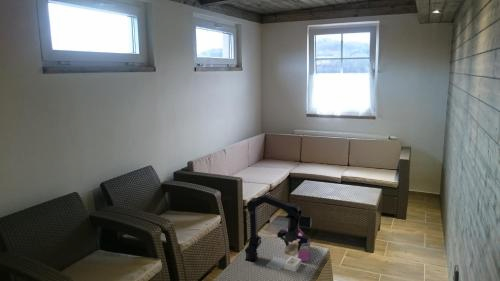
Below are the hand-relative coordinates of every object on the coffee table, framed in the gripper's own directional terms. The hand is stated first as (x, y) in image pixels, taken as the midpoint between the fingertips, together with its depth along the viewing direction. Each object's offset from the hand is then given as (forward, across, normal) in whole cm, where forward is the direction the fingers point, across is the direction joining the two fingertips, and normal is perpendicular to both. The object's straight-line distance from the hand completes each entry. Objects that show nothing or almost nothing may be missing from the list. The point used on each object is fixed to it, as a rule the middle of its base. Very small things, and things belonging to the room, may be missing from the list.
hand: (293, 249), depth 223 cm
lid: (+1, 0, 0) cm, 1 cm away
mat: (+11, -10, -1) cm, 15 cm away
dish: (+11, 0, 0) cm, 11 cm away
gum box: (+11, -4, +17) cm, 21 cm away
